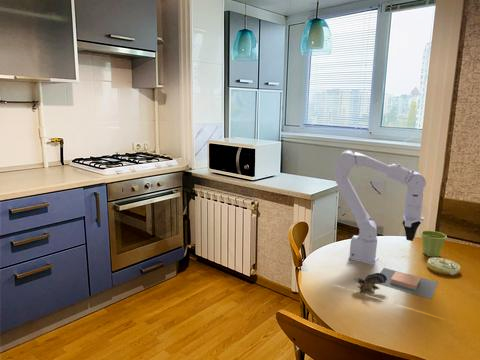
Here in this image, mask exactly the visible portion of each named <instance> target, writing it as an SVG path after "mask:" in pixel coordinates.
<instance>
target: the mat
mask: <svg viewBox="0 0 480 360" xmlns="http://www.w3.org/2000/svg"><path fill="white" fill-rule="evenodd" d="M396 271H397V272H400V273H404V274H408V275H410V274H409V273H406V272H402V271H398V270H393V269H391V268H387V267H383V268H382V269H381V270H380V272H379V273H381V274H384V275H385V276H386V278H387V281H385V283H379V284H378V285H381V286H383V287H388V288H389V289H390V288H391V289H395V290H398V291H400V292H404V293H407V294H411V295H415V296H419V297H421V298H426V299H429V300H432V298H433V295H434V293H435V291H436V288H437V287H438V286H437V285H438V283H439V281H435V280H432V279H428V278H424V277H421V276H416V275H415V276H416V277H419V278H420V283H419V285H418V287H417V289H416V290H413V289H409V288H406V287H402V286H399V285H395V284H392V283H390V282H391V278H392V276H393V275H394V273H395V272H396ZM411 275H412V274H411ZM412 276H414V275H412Z"/></svg>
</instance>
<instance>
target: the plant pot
mask: <svg viewBox="0 0 480 360" xmlns="http://www.w3.org/2000/svg"><path fill="white" fill-rule="evenodd" d="M420 234H421V237H422V238H421V239H422V254H424V255H425V256H428V257H430V258H435V257H436V258H440V255H441V251H442V248H443V246H444V244H445V243H444V242H445V241H446V239H447V238H448V237H447V234H445V233H443V232H440V231H434V230H422V231H420Z"/></svg>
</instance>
